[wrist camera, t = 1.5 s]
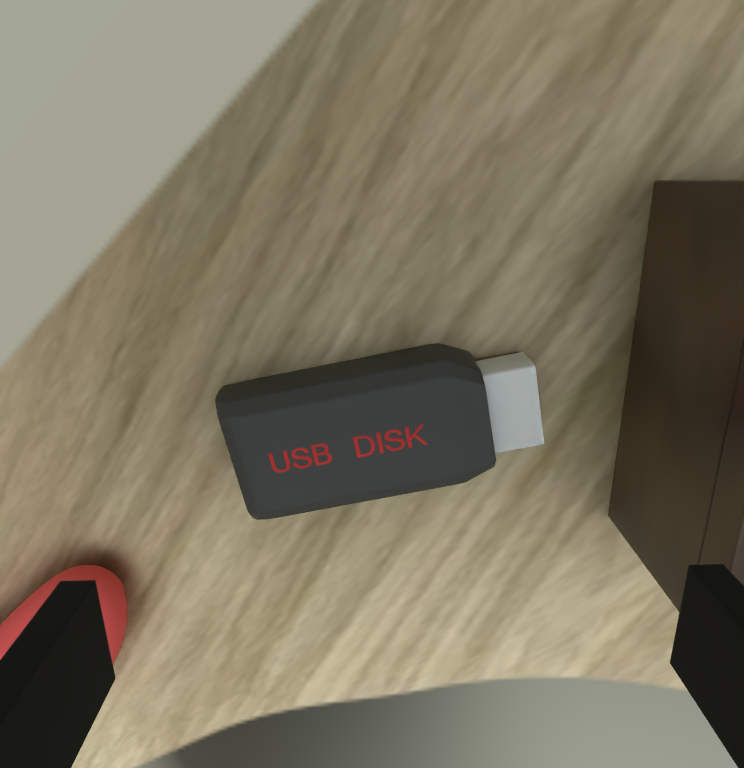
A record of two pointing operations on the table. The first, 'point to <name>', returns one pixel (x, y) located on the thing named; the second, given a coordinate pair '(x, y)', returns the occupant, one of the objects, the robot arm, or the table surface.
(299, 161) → the table surface
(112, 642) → the stress ball
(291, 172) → the table surface
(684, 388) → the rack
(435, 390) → the usb drive
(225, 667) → the table surface
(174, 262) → the table surface
